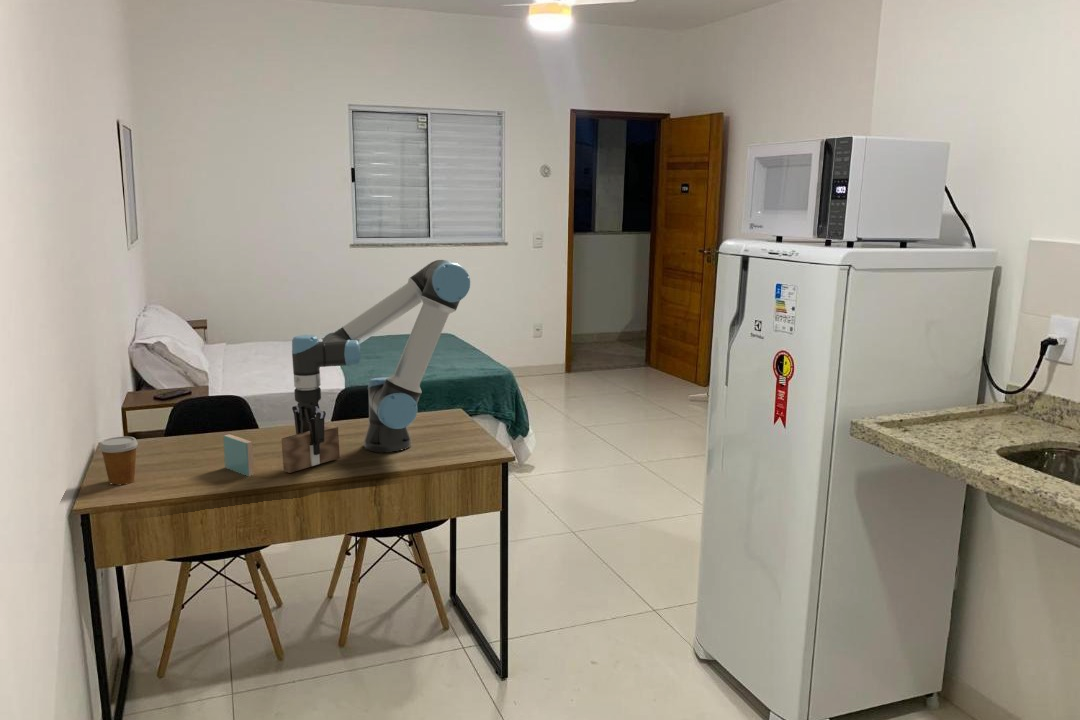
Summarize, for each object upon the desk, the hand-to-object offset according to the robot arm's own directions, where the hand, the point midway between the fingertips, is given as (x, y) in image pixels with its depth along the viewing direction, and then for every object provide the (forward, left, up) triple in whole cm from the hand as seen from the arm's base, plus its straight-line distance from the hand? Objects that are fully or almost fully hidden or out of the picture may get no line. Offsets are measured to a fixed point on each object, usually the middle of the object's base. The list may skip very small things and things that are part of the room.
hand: (311, 463), depth 240 cm
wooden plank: (0, 0, 0) cm, 0 cm away
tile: (+20, -2, -1) cm, 21 cm away
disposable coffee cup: (+51, -3, -1) cm, 51 cm away
